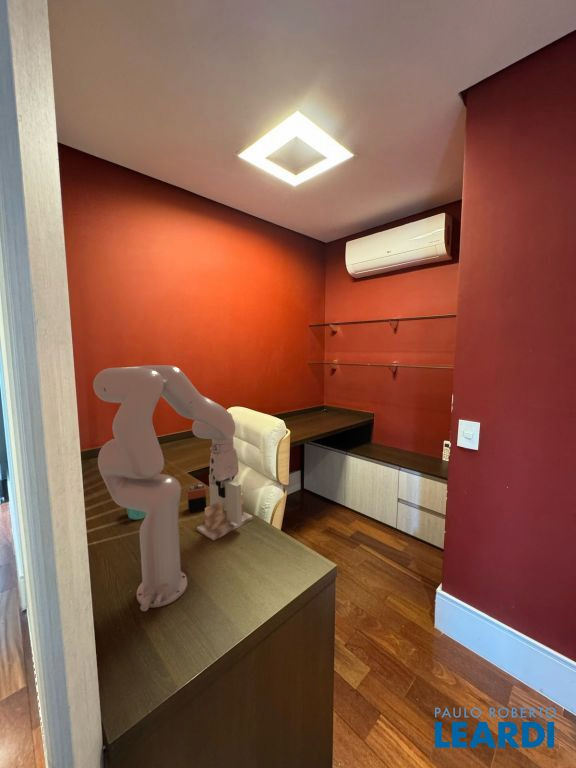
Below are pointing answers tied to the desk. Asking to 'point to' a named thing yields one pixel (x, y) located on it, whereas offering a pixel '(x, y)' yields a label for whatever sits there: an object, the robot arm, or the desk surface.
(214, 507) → the stand
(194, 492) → the battery
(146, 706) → the desk surface
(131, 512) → the decorative dice
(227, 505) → the beige rectangular panel
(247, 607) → the desk surface
